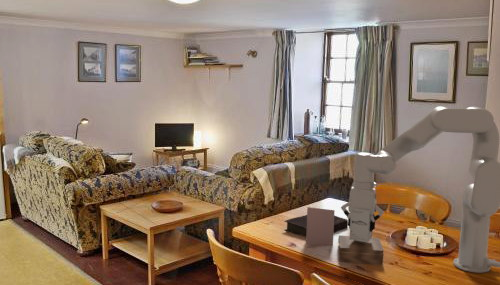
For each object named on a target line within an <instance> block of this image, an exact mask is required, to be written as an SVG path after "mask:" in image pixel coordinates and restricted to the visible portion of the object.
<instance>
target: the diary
mask: <svg viewBox="0 0 500 285" xmlns="http://www.w3.org/2000/svg"><path fill="white" fill-rule="evenodd" d="M283 221H284V222H285V223H286V229H283V231H285V232H288V233H291V234H294V235H298V236H304V237H306V232H307V214H305V215H302V216H301V215H300V216H296V217H292V218H290V219H287V220H283ZM348 228H349V226H348V218H344V217H340V216H337V215H335V214H334V233H337V232H339V231H343V230H345V229H348ZM334 233H333V234H334Z"/></svg>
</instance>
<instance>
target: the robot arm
mask: <svg viewBox="0 0 500 285" xmlns="http://www.w3.org/2000/svg"><path fill="white" fill-rule="evenodd" d="M494 118H495V117H494V115H493V114H492V112H490V111H489V110H488V109H486V108H483V107H479V106H469V107H466V108H456V107H454V108H453V107H446V106H443V105H441V106H436V107H435V108H433V109H432V110H430V111H429V112H428V113H426V114H425V115H424V116H423V117H421V119H419V120H418V121H417V122H415V123H414V124H413V125H412V126H411V127H409V128H408V129H407V130H405V131H404V132H403V133H401V134H400V135H399V136H397V137H396V138H394V139H393V140H391V141H390V142H389V143H388V144H386V145H385V146H384V147H382V149H380V150H379V151H377V153H376V154H375V155H374V154H373V153H372V152H371V153H370V152H362V151H361V152H358V153H355V155H354V161H353V162H354V167H353V184H352V186H351V188H350V193H349V199H348V202H346V203H345V204H342V206H341V207H340V209H341V210H342V211H343V214H344V215H345V216H346V219H347V220H348V229H349V230H350V219H351V208H358V209H365V210H370V215H371V217H370V218H371V222H370V232H372V233H373V231H374V230H375V229H376V221H377V220H378V219H380V218H381V217H382V215H384V214H385V211H384V210H383V209H382V208H380V207H379V206H378V205H377V191H376V188H377V187H378V183H376V182H375V180H374V179H375V174H377V175H378V174H379V175H385V176H386V175H390V174H393V173H394V172H395V171H396V168H397V162H398V161H400V160H401V159H402V158H403V157H405V156H406V155H408V154H409V153H411V152H414V151H418V150H421V149H423V148H425V147H426V146H427V145H428V144H429V143H431V142H432V141H433V140H435V139H436V138H437V137H439V135H441V134H442V133H455V134H461V133H463V134H472V141H473V143H472V149H471V150H472V151H471V155H470V157H471V158H470V162H469V168H468V170H469V171H468V172H469V174H470V176H471V177H472V178H473V179H474V180H473V183H470V184H468V185H467V186H466V187H464V190H463V191H462V194H461V224H460V232H459V233H460V234H459V245H458V254H457V255H458V256H457V257H455V258H454V259H453V260H452V261H453V266H455V267H456V268H457V269H460V270H462V271H466V272H470V273H480V274H482V273H488V272H490V271H491V267H494V268H495V267H496V268H500V261H497V259H490V258H489V257H488V246H489V234H490V227H491V226H490V225H491V216H493V215H495V214H496V213H497V212H498V210H499V208H500V162H499V161H498V159H499V150H500V149H499V148H500V133H499V129H498V126H497V124H496V122H495V119H494ZM347 208H348V209H347ZM376 212H378V214H377V215H375V213H376Z"/></svg>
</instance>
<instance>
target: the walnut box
mask: <svg viewBox="0 0 500 285" xmlns="http://www.w3.org/2000/svg"><path fill="white" fill-rule="evenodd" d="M349 236H350V235H338V239H337V240H338V242H337V251H338V252H337V253H338V261H339V263H346V264H347V263H349V264H350V263H351V264H361V265H377V266H383V263H384V248H383V245H382V243H381V240H380V238H379V237H371V239H370V240H369V241H368V243H366V242H362V241H356V240H349Z"/></svg>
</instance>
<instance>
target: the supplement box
mask: <svg viewBox="0 0 500 285" xmlns="http://www.w3.org/2000/svg"><path fill="white" fill-rule="evenodd" d="M370 217H371V215H370V210H365V209H358V208H351V219H350V229H349V235H348V236H349V240H356V241H362V242H366V243H368V241H369V240H370V239H371V238H373V237H372V236H373V231H372V232H370V222H371V218H370Z"/></svg>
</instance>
